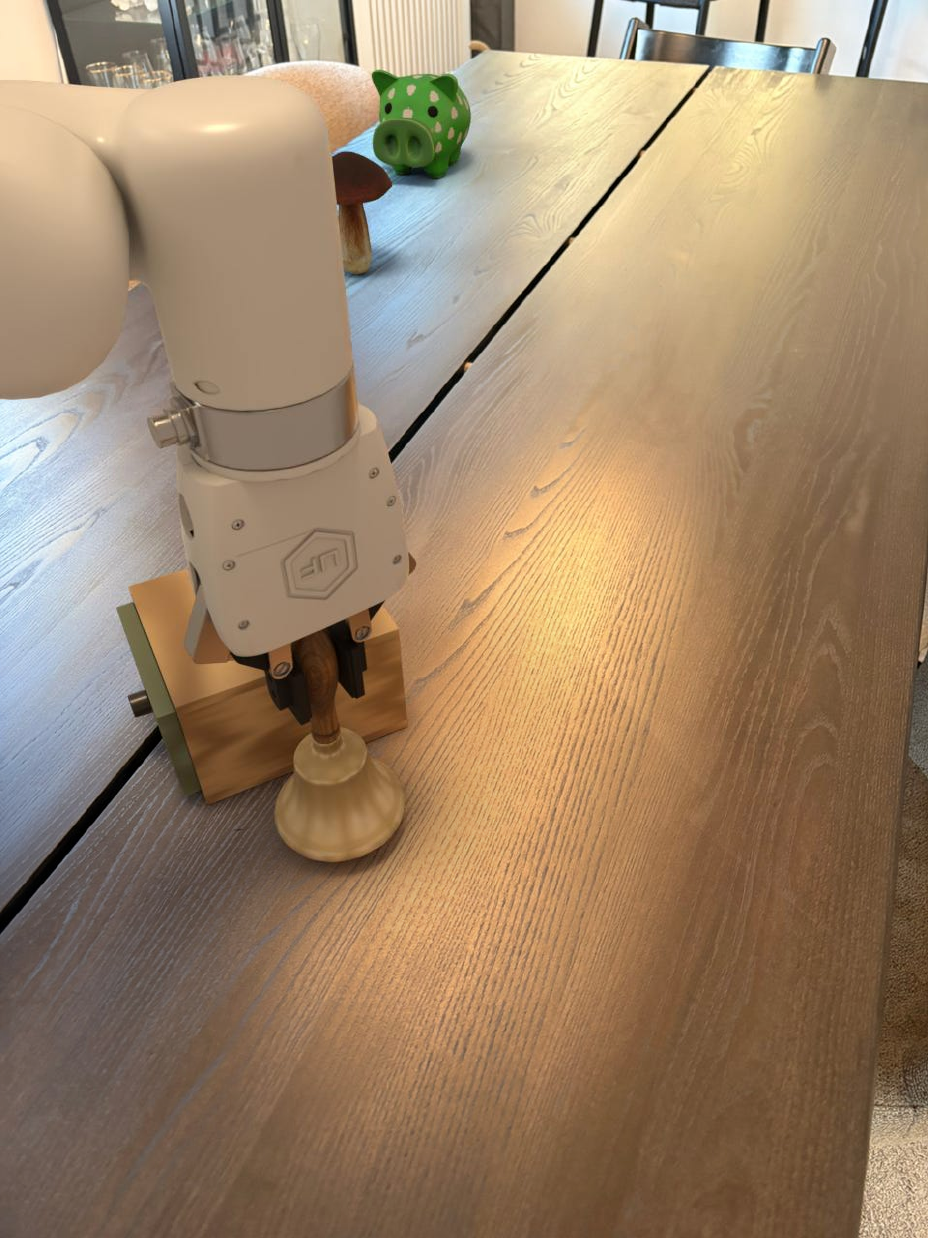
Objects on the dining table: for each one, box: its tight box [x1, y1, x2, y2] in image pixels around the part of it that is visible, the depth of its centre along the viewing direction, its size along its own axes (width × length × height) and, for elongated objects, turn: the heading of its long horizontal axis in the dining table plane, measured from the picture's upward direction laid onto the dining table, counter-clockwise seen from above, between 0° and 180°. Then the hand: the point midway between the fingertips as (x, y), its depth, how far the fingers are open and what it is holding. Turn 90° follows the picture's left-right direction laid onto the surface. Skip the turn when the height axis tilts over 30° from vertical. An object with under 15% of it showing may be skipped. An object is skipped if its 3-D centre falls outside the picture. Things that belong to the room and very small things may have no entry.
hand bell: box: [274, 629, 406, 863], centre depth 55 cm, size 8×8×16 cm
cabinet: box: [128, 567, 408, 806], centre depth 66 cm, size 15×13×10 cm
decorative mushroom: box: [332, 150, 393, 275], centre depth 122 cm, size 11×11×15 cm
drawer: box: [115, 601, 202, 798], centre depth 66 cm, size 15×11×8 cm
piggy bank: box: [371, 69, 472, 179], centre depth 152 cm, size 14×18×15 cm
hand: (321, 693), depth 54 cm, fingers closed on hand bell, 2 cm apart
